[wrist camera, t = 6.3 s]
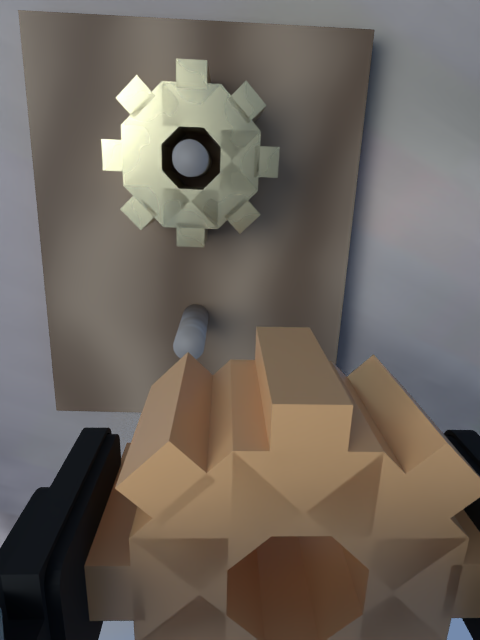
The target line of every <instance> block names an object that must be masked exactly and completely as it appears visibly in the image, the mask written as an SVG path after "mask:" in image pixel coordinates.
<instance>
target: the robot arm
mask: <svg viewBox="0 0 480 640" xmlns="http://www.w3.org/2000/svg"><path fill="white" fill-rule="evenodd" d="M444 435H445V436H446V437H447V439H448V440H449V441H450V442H451V443H452V445H453V446H454V447H455V448H456V449H457V450H458V452H459V453H460V454H461V455H462V456H463V457H464V459H465V460H466V461H467V462H468V463H469V465H470V466H471V467H472V468H473V469H474V470H475V472H476V473H477V474H478V475H479V476H480V436H479V435H478V434H477V433H476V432H475V431H473V430H447V431H446V432H445V433H444ZM120 466H121V452H120V438H119V435H118V434H111V430H110V428H84V429H83V430H82V431H81V433H80V435H79V437H78V439H77V440H76V442H75V444H74V446H73V447H72V449H71V451H70V453H69V454H68V456H67V458H66V460H65V462H64V463H63V465H62V467H61V469H60V470H59V472H58V474H57V476H56V477H55V479H54V481H53V483H52V484H51V486H50V487H40V488H38V489H37V490H36V491H35V492H34V494H33V495H32V497H31V499H30V500H29V502H28V503H27V505H26V507H25V508H24V510H23V512H22V513H21V515H20V517H19V518H18V520H17V522H16V523H15V525H14V527H13V528H12V530H11V531H10V533H9V535H8V536H7V538H6V540H5V541H4V543H3V545H2V546H1V548H0V640H98V638H99V634H100V631H101V627H102V624H103V621H90V619H89V609H88V599H87V589H86V579H85V569H84V565H85V562H86V560H87V557H88V554H89V551H90V549H91V546H92V543H93V540H94V538H95V535H96V532H97V529H98V527H99V524H100V521H101V518H102V516H103V513H104V510H105V507H106V505H107V502H108V499H109V496H110V494H111V491H112V488H113V485H114V482H115V480H116V477H117V474H118V471H119V469H120ZM464 511H465V512H466V514H467V515H468V516H469V518H470V519H471V521H472V522H473V523H474V525H475V526H476V528H477V529H478V530H479V532H480V497H479V498H478V499H477V500H475V501H474V502H472V503H471V504H470V505H468V506H467V507H465V508H464ZM462 619H463V621H464V623H465V625H466V627H467V629H468V630H469V632H470V634H471V636H472V638H473V640H480V618H462Z"/></svg>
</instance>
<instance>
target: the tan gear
mask: <svg viewBox="0 0 480 640" xmlns="http://www.w3.org/2000/svg"><path fill="white" fill-rule="evenodd" d="M479 497H480V476H479V475H478V474H477V473H476V472H475V470H474V469H473V468H472V467H471V466H470V465H469V463H468V462H467V461H466V460H465V459H464V457H463V456H462V455H461V454H460V453H459V452H458V450H457V449H456V448H455V447H454V446H453V445H452V443H451V442H450V441H449V440H448V439H447V437H446V436H445V435H444V434H443V433H442V432H441V430H440V429H439V428H438V427H437V426H436V425H435V423H434V422H433V421H432V420H431V419H430V417H429V416H428V415H427V414H426V413H425V412H424V410H423V409H422V408H421V407H420V406H419V405H418V403H417V402H416V401H415V400H414V399H413V397H412V396H411V395H410V394H409V393H408V392H407V390H406V389H405V388H404V387H403V386H402V385H401V384H400V383H399V382H398V380H397V379H396V378H395V377H394V376H393V375H392V374H391V373H390V372H389V371H388V370H387V369H386V367H385V366H384V365H383V364H382V363H381V362H380V361H379V360H378V359H377V358H376V357H375V356H374V355H372V356H371V357H370V358H369V359H368V360H366V361H365V362H364V363H363V364H362V365H360V366H359V367H358V368H357V369H356V370H354V371H353V372H352V373H351V374H350V375H348V376H347V377H346V376H345V375H344V373H343V372H342V371H341V370H340V369H339V368H338V367H337V366H336V365H335V364H334V363H333V362H332V361H328V359H327V357H326V355H325V354H324V352H323V350H322V348H321V347H320V345H319V343H318V341H317V339H316V338H315V336H314V334H313V332H312V331H311V329H310V327H256V346H255V360H232V359H230V360H229V361H228V362H227V363H226V364H225V365H224V366H223V367H221V368H220V369H219V370H218V371H217V372H216V373H215V374H214V375H212V374H211V373H210V372H209V371H208V370H207V369H206V368H205V367H204V366H203V365H201V364H200V363H199V362H198V361H197V360H196V359H195V358H194V357H193V356H192V355H191V354H190V353H189V352H187V353H186V354H185V355H184V356H183V357H182V358H181V359H180V360H179V361H178V362H177V363H175V364H174V365H173V366H172V367H171V368H170V369H169V370H168V371H167V372H166V373H165V374H164V375H162V376H161V377H160V378H159V379H158V380H157V381H156V382H155V383H154V384H153V385H152V386H151V388H150V391H149V394H148V397H147V399H146V402H145V405H144V408H143V411H142V414H141V416H140V419H139V422H138V425H137V428H136V430H135V433H134V436H133V439H132V442H131V443H127V444H126V447H125V450H124V452H123V455H122V458H121V466H120V469H119V471H118V474H117V477H116V480H115V482H114V485H113V488H112V491H111V494H110V496H109V499H108V502H107V505H106V507H105V510H104V513H103V516H102V518H101V521H100V524H99V527H98V529H97V532H96V535H95V538H94V540H93V543H92V546H91V549H90V551H89V554H88V557H87V560H86V562H85V565H84V569H85V579H86V589H87V599H88V609H89V619H90V621H134V635H135V640H447V635H448V631H449V626H450V622H451V618H480V532H479V530H478V529H477V528H476V526H475V525H474V523H473V522H472V521H471V519H470V518H469V516H468V515H467V514H466V512H465V511H464V508H465V507H467V506H468V505H470V504H471V503H472V502H474V501H475V500H477V499H478V498H479Z"/></svg>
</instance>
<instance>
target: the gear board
mask: <svg viewBox="0 0 480 640" xmlns="http://www.w3.org/2000/svg"><path fill="white" fill-rule="evenodd" d="M18 12H19V23H20V33H21V44H22V54H23V65H24V75H25V85H26V96H27V106H28V117H29V127H30V138H31V148H32V159H33V169H34V179H35V190H36V200H37V211H38V221H39V232H40V242H41V253H42V263H43V273H44V284H45V294H46V305H47V315H48V326H49V336H50V347H51V357H52V368H53V378H54V388H55V399H56V409H57V410H58V411H100V412H141V413H142V411H143V408H144V405H145V402H146V399H147V397H148V394H149V391H150V388H151V386H152V385H153V384H154V383H155V382H156V381H157V380H158V379H159V378H160V377H161V376H162V375H164V374H165V373H166V372H167V371H168V370H169V369H170V368H171V367H172V366H173V365H174V364H175V363H177V362H178V361H179V360H180V359H181V358H182V357H183V356H184V355H185V354H186V353H187V352H189V353H190V354H191V355H192V356H193V357H194V358H195V359H196V360H197V361H198V362H199V363H200V364H201V365H203V366H204V367H205V368H206V369H207V370H208V371H209V372H210V373H211V374H212V375H214V374H215V373H216V372H217V371H218V370H219V369H220V368H221V367H223V366H224V365H225V364H226V363H227V362H228V361H229V360H230V359H232V360H255V346H256V327H310V329H311V331H312V332H313V334H314V336H315V338H316V339H317V341H318V343H319V345H320V347H321V348H322V350H323V352H324V354H325V355H326V357H327V359H328V361H332V362H333V363H334V364H335V365H336V359H337V350H338V341H339V333H340V324H341V315H342V307H343V298H344V290H345V281H346V272H347V264H348V255H349V246H350V238H351V229H352V220H353V212H354V203H355V194H356V186H357V177H358V168H359V160H360V151H361V142H362V134H363V125H364V116H365V108H366V99H367V90H368V82H369V73H370V65H371V56H372V47H373V39H374V30H371V29H353V28H335V27H316V26H298V25H280V24H262V23H243V22H225V21H207V20H188V19H170V18H152V17H133V16H115V15H97V14H79V13H60V12H42V11H24V10H18ZM176 59H195V60H207V61H208V66H209V72H210V77H211V84H222V85H223V87H224V88H225V89H226V90H227V91H228V93H229V94H230V95H232V94H233V93H234V92H235V91H236V90H237V89H238V88H239V87H240V86H241V85H242V84H243V83H244V82H245V81H247V82H248V83H249V85H250V86H251V87H252V88H253V89H254V91H255V92H256V93H257V94H258V96H259V97H260V98H261V99H262V100H263V102H264V103H265V104H266V107H265V109H264V111H263V113H262V114H261V116H260V117H259V118H258V119H257V120H256V121H255V122H254V124H255V125H256V126H257V127H258V128H259V130H260V131H261V139H260V146H268V147H280V151H279V166H278V178H269V177H259V179H258V191H257V192H256V193H255V194H254V195H253V196H252V197H251V198H250V199H249V201H250V202H251V204H252V205H253V206H254V207H255V208H256V209H257V211H258V212H259V213H260V214H261V215H260V216H259V217H258V218H257V219H255V220H254V221H253V222H252V223H251V224H250V225H249V226H248V227H247V228H246V229H245V230H244V231H243V232H242V233H241V234H239V232H238V231H237V230H236V229H235V228H234V227H233V226H232V225H231V224H230V223H229V222H228V220H227V221H226V222H225V223H224V224H223V225H222V226H221V227H219V228H218V229H208V238H207V241H206V244H205V247H181V246H177V228H174V227H163V226H162V225H161V224H160V223H159V222H158V221H157V220H155V221H154V222H153V223H151V224H150V225H148V226H147V227H145V228H144V229H142V230H140V229H139V228H138V227H137V226H136V225H135V224H134V223H133V222H132V221H131V220H130V219H129V218H128V217H127V216H126V215H125V214H124V213H123V212H122V211H121V210H120V209H121V208H122V207H123V206H124V204H125V203H126V202H127V201H128V200H129V199H130V198H131V197H132V196H133V195H132V194H131V193H130V192H129V191H128V190H127V189H126V188H125V187H124V186H123V171H105V170H103V161H102V142H101V139H113V140H121V124H122V123H123V122H124V121H125V120H126V119H127V118H128V117H129V116H130V113H129V112H128V111H127V110H126V109H125V108H124V107H123V106H122V105H121V103H120V102H119V101H118V100H117V99H116V97H117V96H118V95H119V94H120V93H121V91H122V90H123V89H124V88H125V87H126V86H127V85H128V84H129V83H130V82H131V81H132V79H133V78H134V77H135V76H136V75H137V76H138V77H139V78H140V79H141V80H142V81H143V82H144V83H145V84H146V85H147V87H148V88H149V89H150V90H151V91H153V90H154V89H155V88H156V87H157V86H158V84H159V83H160V82H161V81H171V82H176ZM220 157H221V150H220V148H219V147H218V146H217V145H216V144H215V143H214V142H213V140H212V139H211V138H210V137H209V136H208V135H199V134H186V135H185V136H184V137H183V138H182V139H181V140H180V141H179V142H178V143H177V144H176V146H175V147H174V148H173V149H172V171H173V172H174V173H175V174H176V175H177V177H178V178H179V179H180V180H181V181H182V182H183V183H184V184H185V185H186V186H188V187H206V186H207V185H208V184H209V183H210V182H211V181H212V180H213V179H214V178H215V177H216V176H217V175H218V174H219V173H220Z"/></svg>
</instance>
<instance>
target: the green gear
mask: <svg viewBox="0 0 480 640" xmlns="http://www.w3.org/2000/svg"><path fill="white" fill-rule="evenodd" d="M116 99H117V100H118V101H119V102H120V103H121V105H122V106H123V107H124V108H125V109H126V110H127V111H128V112H129V113H130V116H129V117H128V118H127V119H126V120H125V121H124V122H123V123H122V124H121V140H113V139H101V142H102V161H103V170H105V171H123V186H124V187H125V188H126V189H127V190H128V191H129V192H130V193H131V194H132V195H133V196H132V197H131V198H130V199H129V200H128V201H127V202H126V203H125V204H124V206H123V207H122V208H121V209H120V210H121V211H122V212H123V213H124V214H125V215H126V216H127V217H128V218H129V219H130V220H131V221H132V222H133V223H134V224H135V225H136V226H137V227H138V228H139V229H140V230H142V229H144V228H145V227H147V226H148V225H150V224H151V223H153V222H154V221H155V220H157V221H158V222H159V223H160V224H161V225H162V226H163V227H174V228H177V246H181V247H205V244H206V241H207V238H208V229H218V228H219V227H221V226H222V225H223V224H224V223H225V222H226V221H227V220H228V222H229V223H230V224H231V225H232V226H233V227H234V228H235V229H236V230H237V231H238V232H239V234H241V233H242V232H243V231H244V230H245V229H246V228H247V227H248V226H249V225H250V224H251V223H252V222H253V221H254V220H255V219H257V218H258V217H259V216H260V215H261V214H260V213H259V212H258V211H257V209H256V208H255V207H254V206H253V205H252V204H251V202H250V201H249V199H250V198H251V197H252V196H253V195H254V194H255V193H256V192H257V191H258V179H259V177H269V178H278V166H279V151H280V147H268V146H260V139H261V131H260V130H259V128H258V127H257V126H256V125H255V124H254V122H255V121H256V120H257V119H258V118H259V117H260V116H261V114H262V113H263V111H264V109H265V107H266V104H265V103H264V102H263V100H262V99H261V98H260V97H259V96H258V94H257V93H256V92H255V91H254V89H253V88H252V87H251V86H250V85H249V83H248V82H247V81H245V82H244V83H243V84H242V85H241V86H240V87H239V88H238V89H237V90H236V91H235V92H234V93H233V94H232V95H230V94H229V93H228V91H227V90H226V89H225V88H224V87H223V85H222V84H211V77H210V72H209V66H208V61H207V60H195V59H176V82H171V81H161V82H160V83H159V84H158V86H157V87H156V88H155V89H154V90H153V91H151V90H150V89H149V88H148V87H147V85H146V84H145V83H144V82H143V81H142V80H141V79H140V78H139V77H138V76H137V75H136V76H135V77H134V78H133V79H132V81H131V82H130V83H129V84H128V85H127V86H126V87H125V88H124V89H123V90H122V91H121V93H120V94H119V95H118V96H117V97H116ZM186 134H199V135H208V136H209V137H210V138H211V139H212V140H213V142H214V143H215V144H216V145H217V146H218V147H219V148H220V150H221V157H220V173H219V174H218V175H217V176H216V177H215V178H214V179H213V180H212V181H211V182H210V183H209V184H208V185H207V186H206V187H188V186H186V185H185V184H184V183H183V182H182V181H181V180H180V179H179V178H178V177H177V175H176V174H175V173H174V172H173V171H172V149H173V148H174V147H175V146H176V144H177V143H178V142H179V141H180V140H181V139H182V138H183V137H184V136H185V135H186Z"/></svg>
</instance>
